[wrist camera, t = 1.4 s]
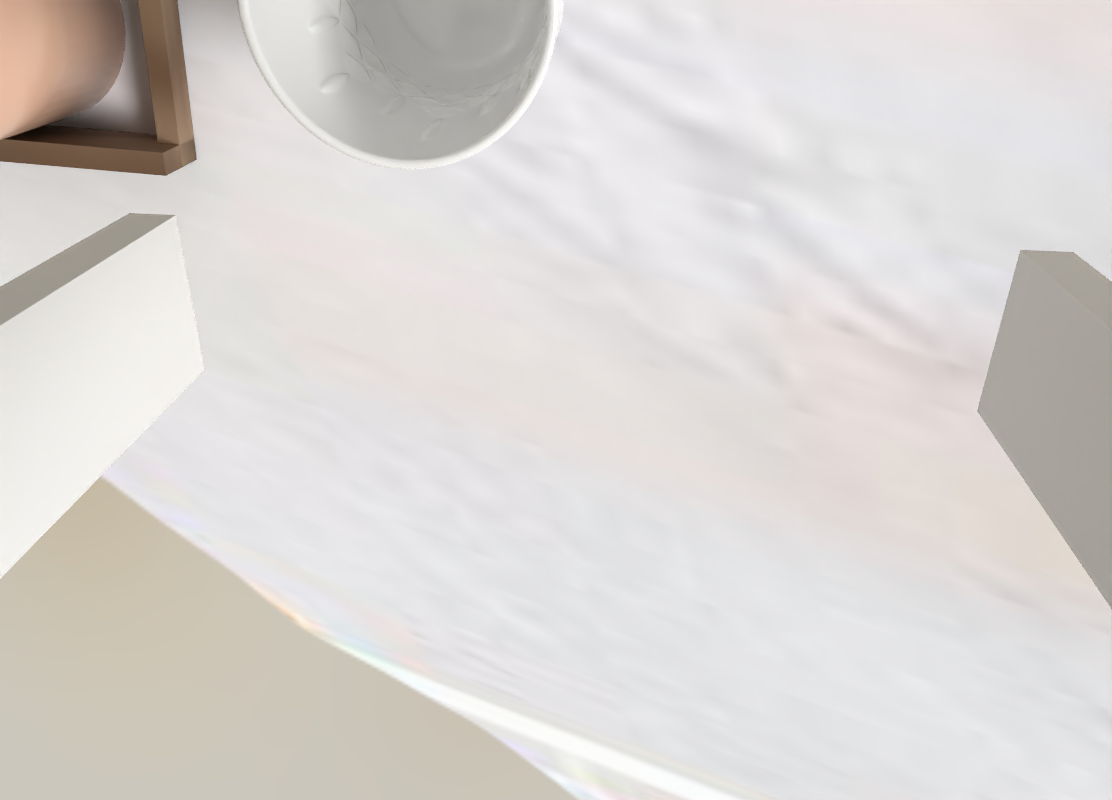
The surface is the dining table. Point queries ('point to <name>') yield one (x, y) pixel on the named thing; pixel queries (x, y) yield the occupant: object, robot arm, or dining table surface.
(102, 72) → the terracotta jar
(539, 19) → the white cup
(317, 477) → the dining table surface
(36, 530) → the robot arm
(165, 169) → the brown wooden rack
